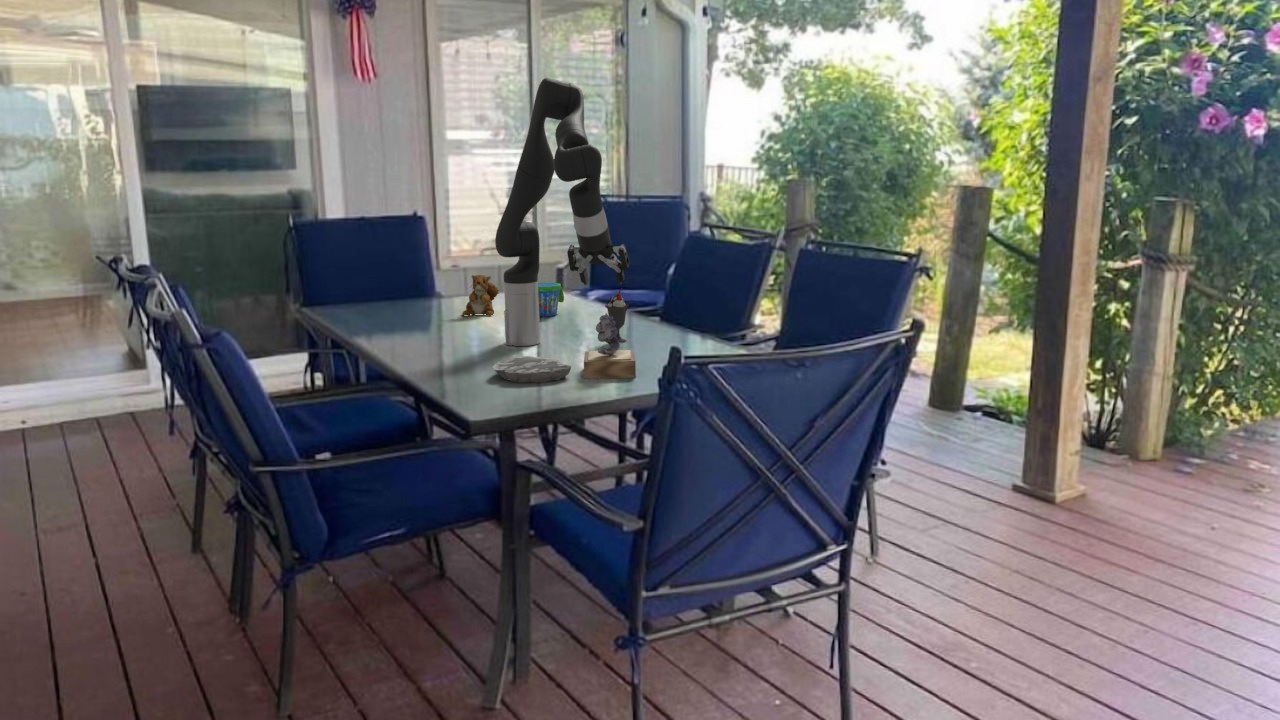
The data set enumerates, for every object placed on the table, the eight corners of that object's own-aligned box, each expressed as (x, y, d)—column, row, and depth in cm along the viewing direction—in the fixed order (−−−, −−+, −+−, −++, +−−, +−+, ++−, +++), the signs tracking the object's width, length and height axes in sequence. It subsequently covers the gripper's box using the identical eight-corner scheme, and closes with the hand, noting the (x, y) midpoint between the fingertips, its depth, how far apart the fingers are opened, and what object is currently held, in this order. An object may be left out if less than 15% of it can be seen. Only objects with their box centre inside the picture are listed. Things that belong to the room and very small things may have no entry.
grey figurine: (603, 358, 227) (602, 316, 225) (593, 354, 231) (592, 312, 229) (623, 355, 229) (622, 313, 227) (613, 351, 234) (612, 310, 232)
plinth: (584, 378, 225) (583, 360, 224) (585, 367, 237) (585, 350, 236) (635, 377, 225) (635, 359, 224) (634, 366, 237) (634, 349, 236)
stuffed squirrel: (460, 317, 312) (458, 276, 309) (474, 310, 326) (472, 271, 323) (490, 317, 311) (488, 276, 308) (502, 310, 325) (501, 271, 322)
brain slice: (475, 377, 230) (475, 365, 229) (532, 365, 241) (531, 353, 241) (526, 390, 216) (526, 377, 215) (584, 377, 228) (583, 365, 227)
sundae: (627, 343, 265) (626, 289, 261) (603, 343, 266) (601, 289, 263) (632, 339, 271) (631, 286, 268) (608, 338, 272) (607, 285, 269)
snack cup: (553, 310, 322) (552, 280, 319) (574, 314, 314) (573, 283, 312) (516, 316, 311) (514, 285, 309) (536, 320, 304) (535, 288, 301)
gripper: (624, 216, 224) (634, 273, 235) (565, 218, 227) (578, 273, 238) (618, 234, 219) (629, 291, 229) (558, 236, 222) (571, 292, 232)
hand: (603, 282), depth 233 cm, fingers open, 8 cm apart
